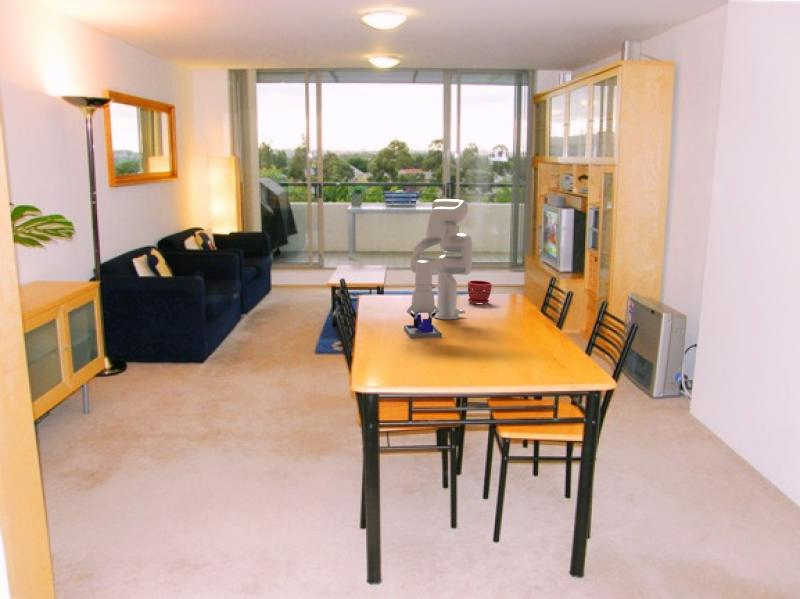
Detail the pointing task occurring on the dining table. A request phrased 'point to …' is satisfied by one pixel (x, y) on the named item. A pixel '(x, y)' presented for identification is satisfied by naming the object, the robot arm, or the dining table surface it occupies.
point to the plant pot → (479, 291)
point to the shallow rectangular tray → (418, 334)
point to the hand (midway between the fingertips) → (422, 326)
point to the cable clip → (424, 325)
